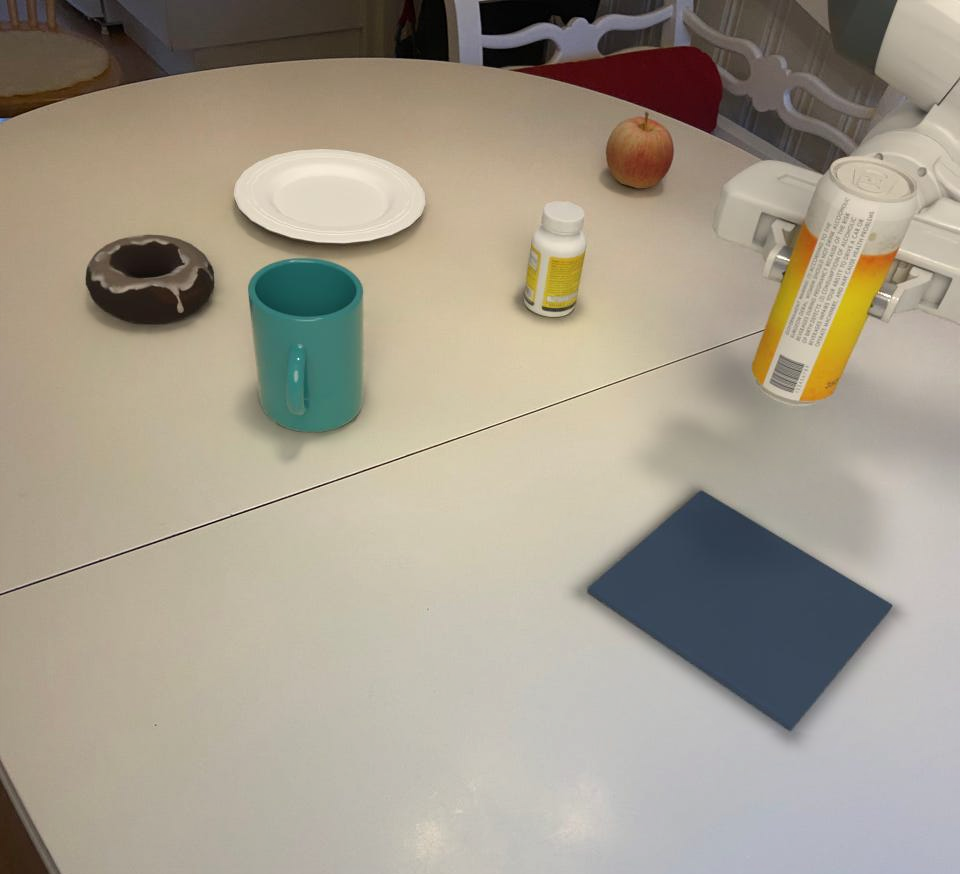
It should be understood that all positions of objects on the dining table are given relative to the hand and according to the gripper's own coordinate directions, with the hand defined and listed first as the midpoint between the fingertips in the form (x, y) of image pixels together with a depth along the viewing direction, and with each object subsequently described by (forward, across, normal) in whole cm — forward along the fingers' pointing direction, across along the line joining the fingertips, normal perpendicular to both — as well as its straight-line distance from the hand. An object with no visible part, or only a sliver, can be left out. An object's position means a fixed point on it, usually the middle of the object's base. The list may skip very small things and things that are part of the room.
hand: (827, 289), depth 62 cm
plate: (-22, -56, +22) cm, 64 cm away
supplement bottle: (-20, -28, +22) cm, 41 cm away
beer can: (-1, 0, +8) cm, 8 cm away
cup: (+9, -36, +22) cm, 43 cm away
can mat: (+7, +4, +22) cm, 23 cm away
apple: (-51, -32, +22) cm, 64 cm away
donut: (+4, -59, +22) cm, 63 cm away
